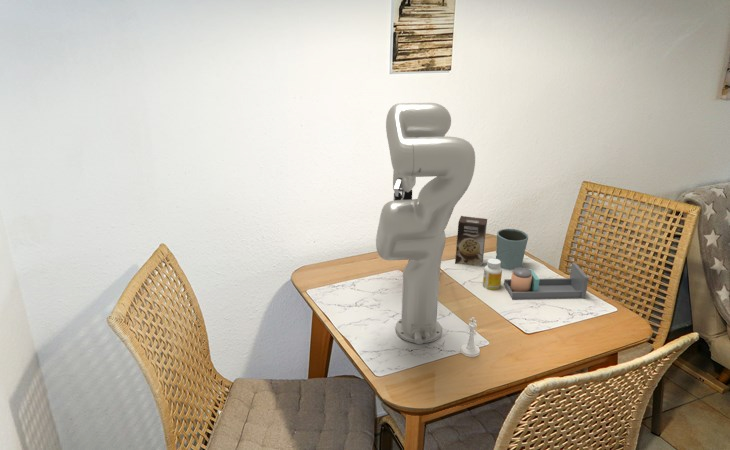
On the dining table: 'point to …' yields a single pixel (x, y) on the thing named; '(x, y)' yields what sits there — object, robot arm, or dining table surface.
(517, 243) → the teal cup
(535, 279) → the plate
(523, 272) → the jar
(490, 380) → the dining table surface
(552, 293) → the lane
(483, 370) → the dining table surface
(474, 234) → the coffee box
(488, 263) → the supplement bottle
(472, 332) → the chess piece
